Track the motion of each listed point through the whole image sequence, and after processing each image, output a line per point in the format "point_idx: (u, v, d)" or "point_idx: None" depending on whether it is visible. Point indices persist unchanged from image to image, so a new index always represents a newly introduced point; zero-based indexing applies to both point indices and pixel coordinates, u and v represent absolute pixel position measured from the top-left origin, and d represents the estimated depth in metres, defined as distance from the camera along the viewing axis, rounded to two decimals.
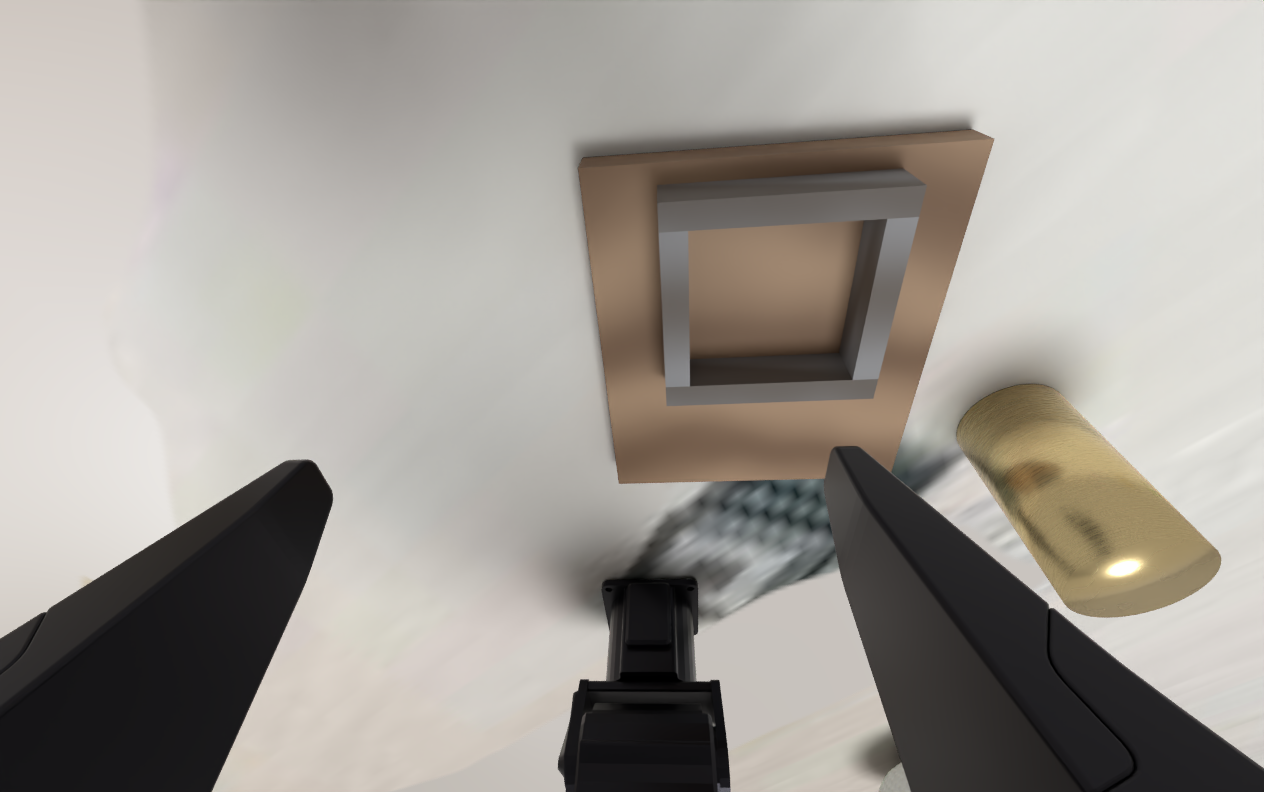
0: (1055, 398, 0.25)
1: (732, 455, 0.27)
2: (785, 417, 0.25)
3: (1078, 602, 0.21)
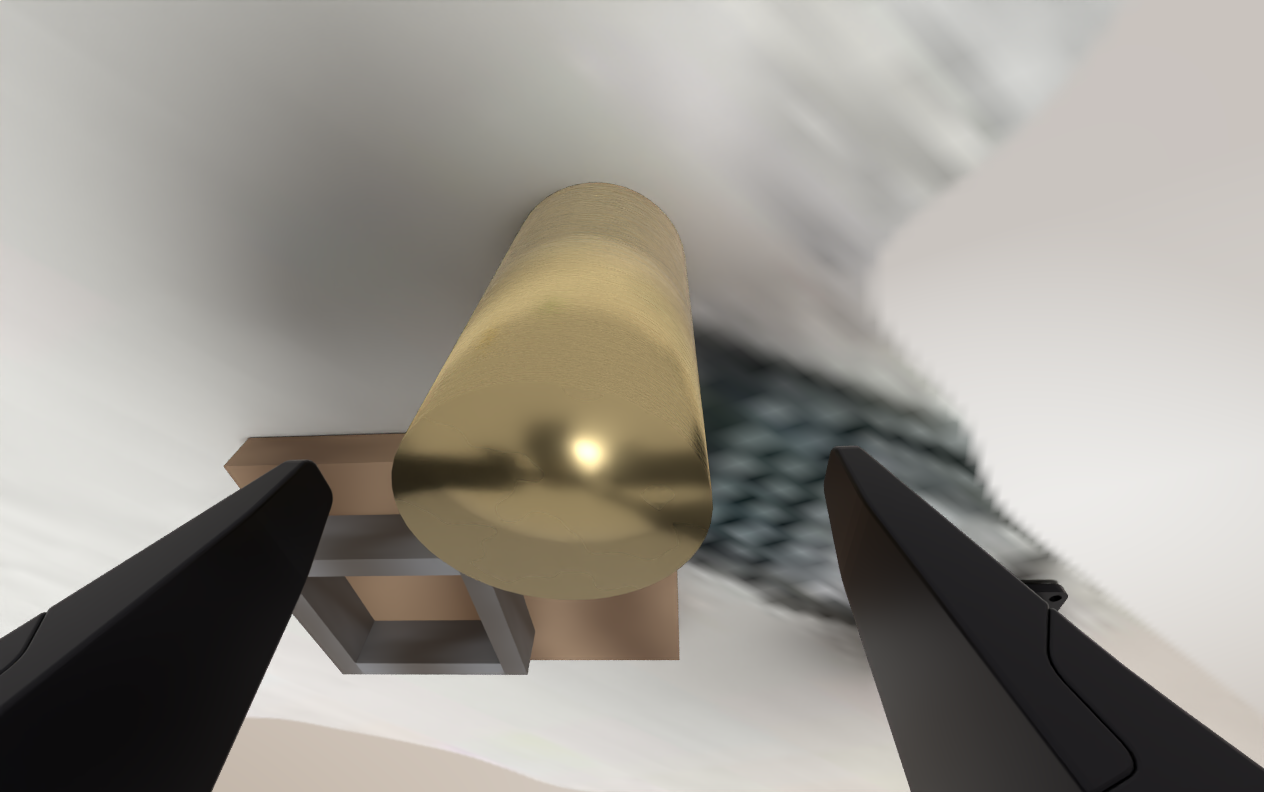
0: None
1: (634, 591, 0.23)
2: None
3: (646, 567, 0.09)
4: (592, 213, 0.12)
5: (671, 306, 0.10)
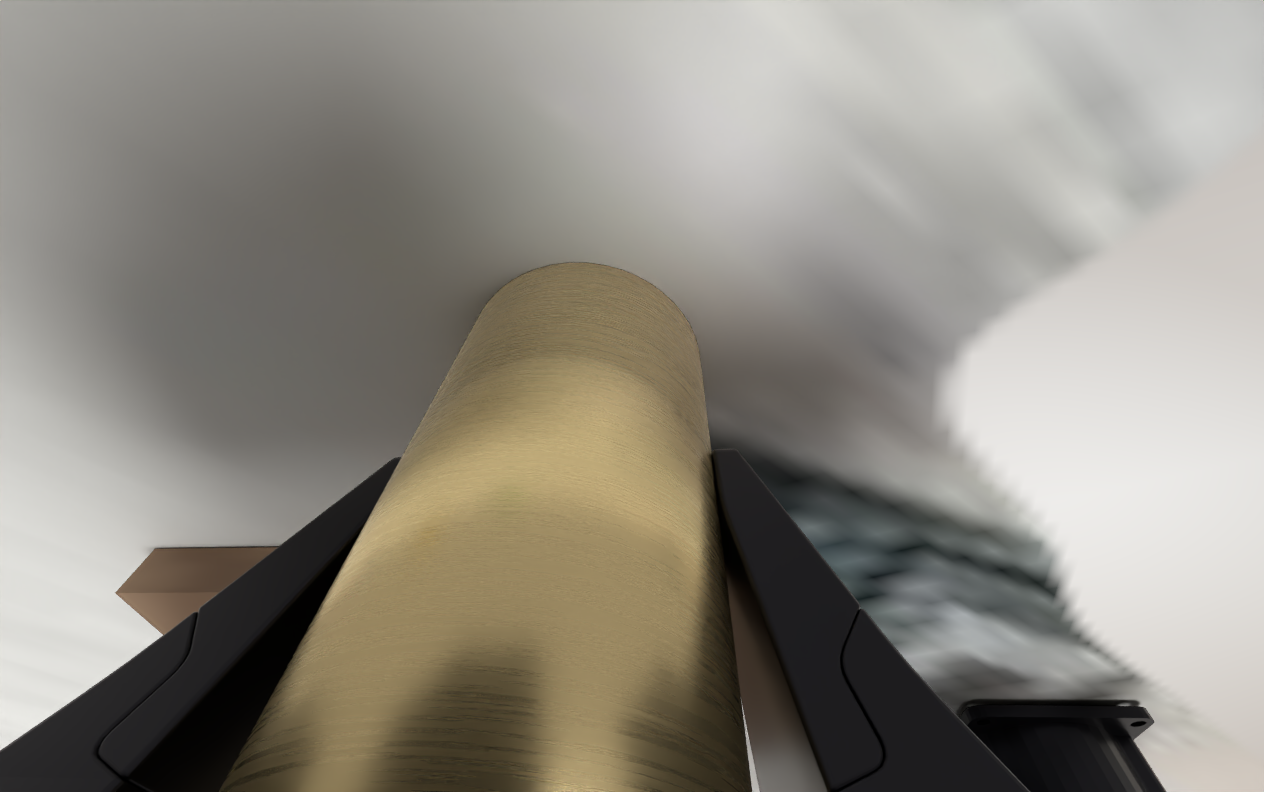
0: None
1: None
2: None
3: None
4: (567, 326, 0.08)
5: (688, 505, 0.06)
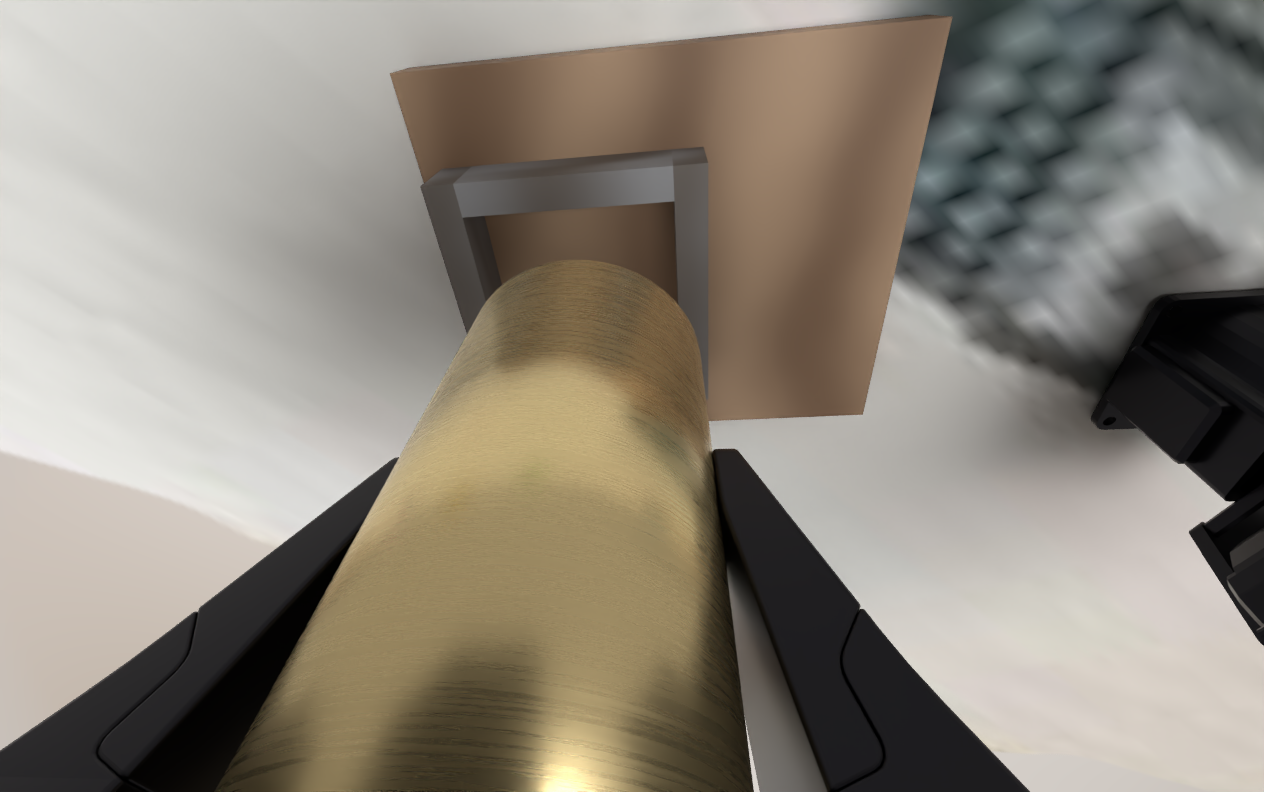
0: None
1: (838, 290, 0.19)
2: (778, 232, 0.18)
3: None
4: (567, 323, 0.08)
5: (689, 502, 0.06)
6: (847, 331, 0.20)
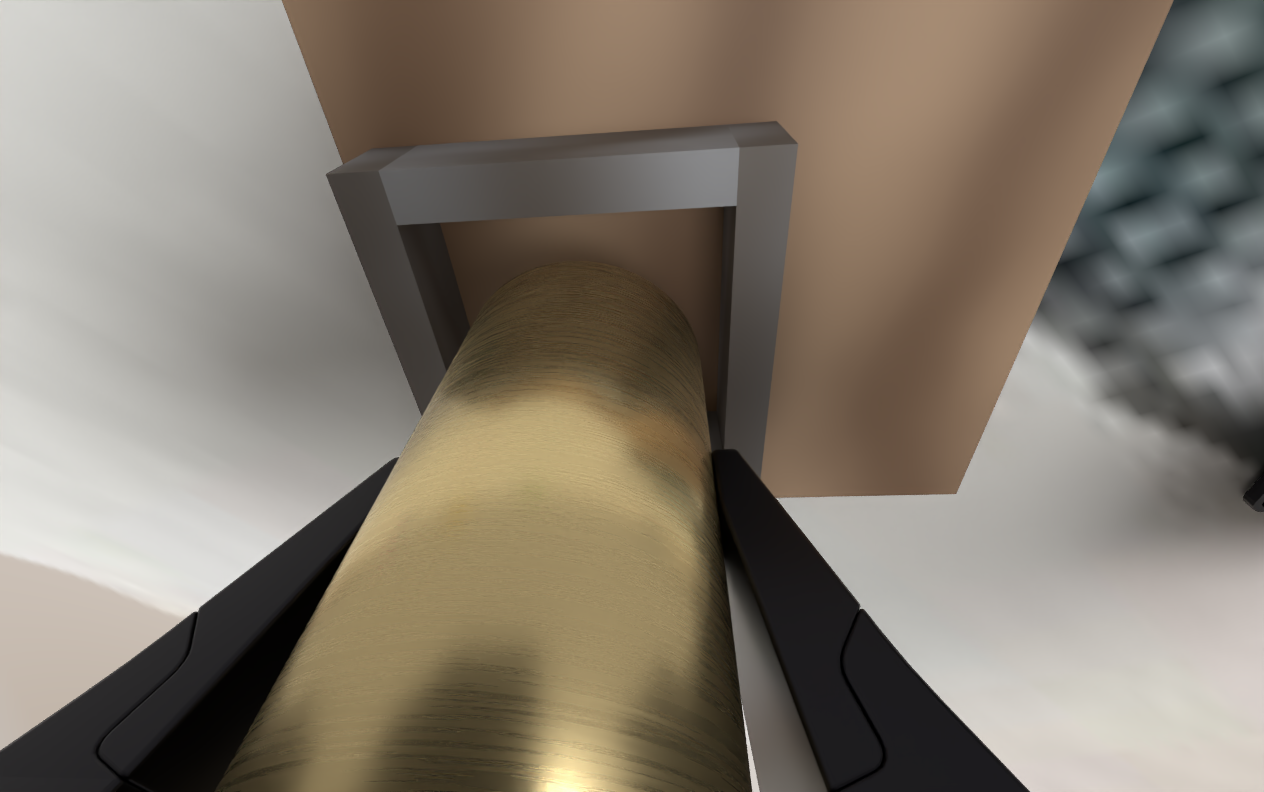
0: None
1: (950, 336, 0.14)
2: (875, 252, 0.12)
3: None
4: (567, 324, 0.08)
5: (688, 504, 0.06)
6: (953, 390, 0.15)
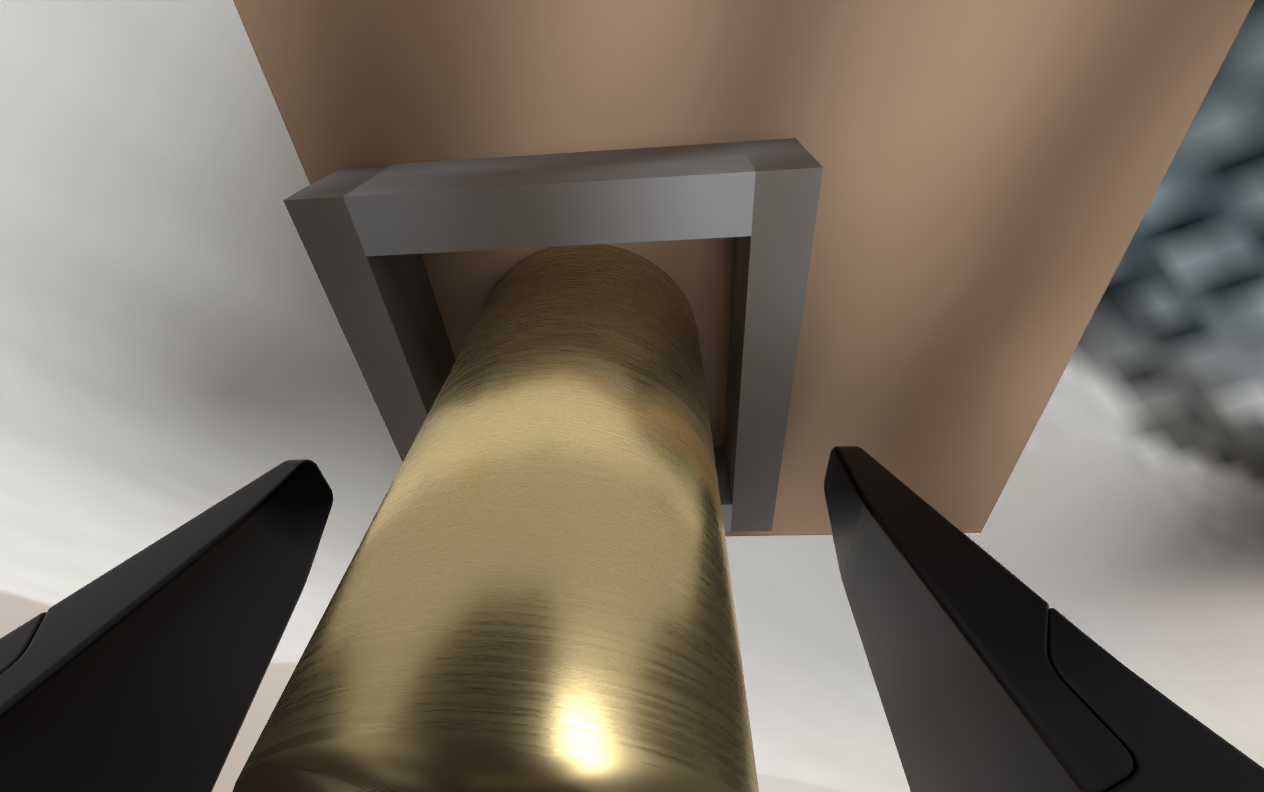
0: None
1: (981, 370, 0.12)
2: (901, 281, 0.11)
3: None
4: (576, 298, 0.09)
5: (689, 453, 0.07)
6: (983, 427, 0.13)
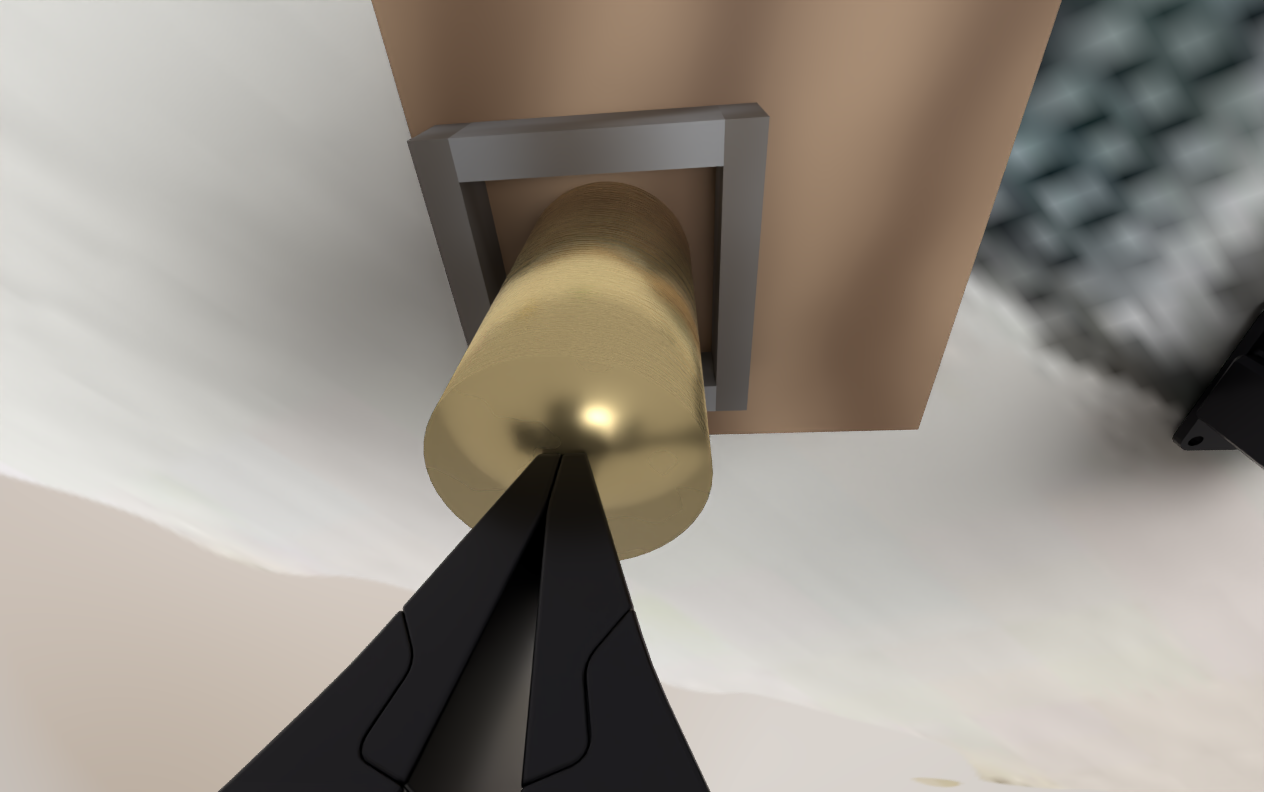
0: None
1: (904, 284, 0.16)
2: (839, 211, 0.15)
3: (654, 531, 0.10)
4: (601, 209, 0.13)
5: (676, 293, 0.11)
6: (910, 332, 0.17)
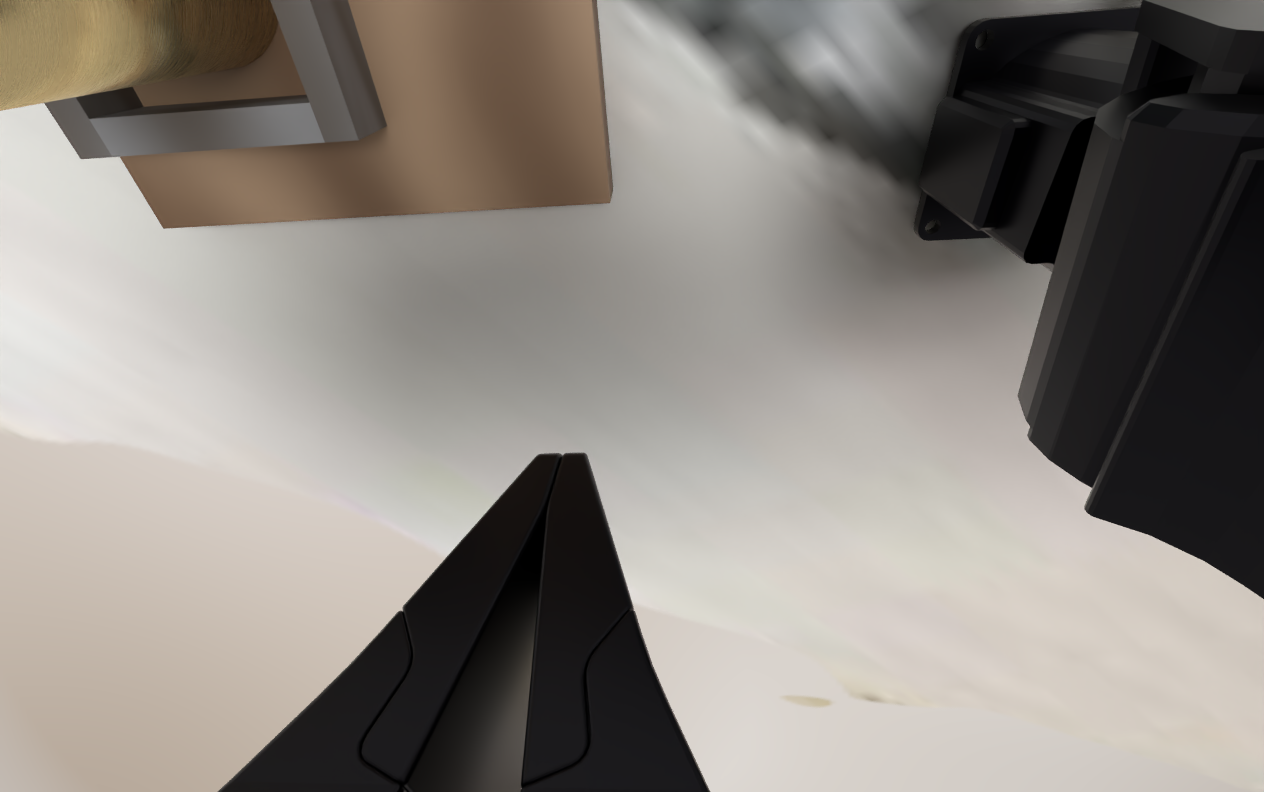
0: None
1: None
2: None
3: None
4: None
5: None
6: (552, 57, 0.15)
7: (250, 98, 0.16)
